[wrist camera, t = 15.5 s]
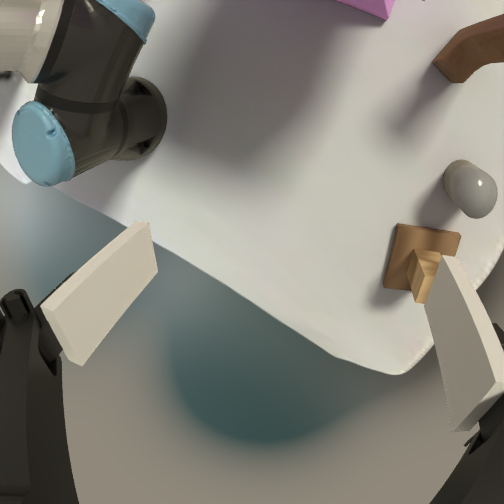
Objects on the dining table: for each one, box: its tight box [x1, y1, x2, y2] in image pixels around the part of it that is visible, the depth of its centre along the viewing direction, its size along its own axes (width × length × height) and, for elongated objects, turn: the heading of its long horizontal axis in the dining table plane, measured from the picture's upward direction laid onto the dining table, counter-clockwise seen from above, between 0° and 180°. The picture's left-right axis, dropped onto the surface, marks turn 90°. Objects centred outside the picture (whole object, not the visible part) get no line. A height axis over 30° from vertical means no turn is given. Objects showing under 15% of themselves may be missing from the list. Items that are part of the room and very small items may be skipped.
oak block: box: [407, 249, 442, 304], centre depth 42 cm, size 5×5×8 cm
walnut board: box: [383, 223, 461, 291], centre depth 46 cm, size 12×12×1 cm
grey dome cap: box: [443, 160, 498, 219], centre depth 35 cm, size 7×7×7 cm
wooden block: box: [433, 14, 504, 83], centre depth 21 cm, size 9×4×18 cm, turn 144°
